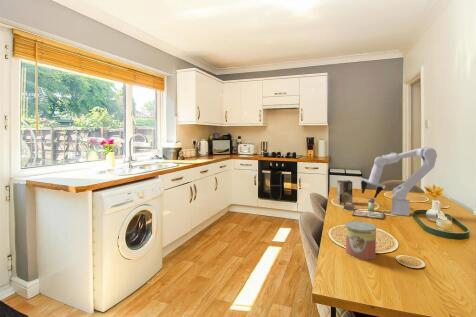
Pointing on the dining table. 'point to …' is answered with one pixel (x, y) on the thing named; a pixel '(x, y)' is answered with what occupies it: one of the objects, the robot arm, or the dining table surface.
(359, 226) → the canned food
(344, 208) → the button housing
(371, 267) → the dining table surface
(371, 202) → the sage marker
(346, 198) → the coffee box
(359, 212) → the colouring board
